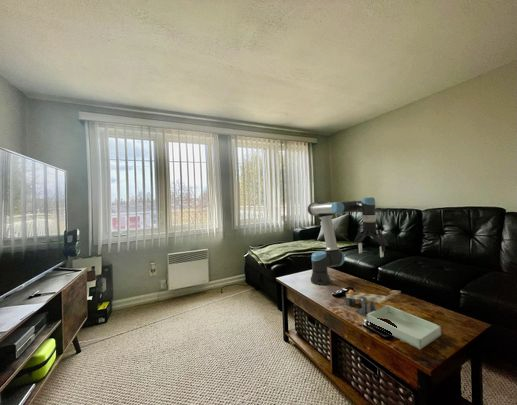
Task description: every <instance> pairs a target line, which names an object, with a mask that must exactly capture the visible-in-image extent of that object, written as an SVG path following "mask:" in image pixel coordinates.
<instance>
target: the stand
mask: <svg viewBox="0 0 517 405" xmlns="http://www.w3.org/2000/svg"><path fill="white" fill-rule="evenodd" d="M372 294H373V295H375V294H374V293H372ZM367 304H368V303H367V301H366V298H365V297H361V308H359V309H358V308H357V309H356V310H355V313H356V314H359V315H361V316H362V317H365V318H366V314H368V313H370V312H373V311H375V310H377V309H376V302H371V301H369V305H367ZM345 305H346V306H349V307H351V306H354V305H356V299H351V298H347V297H345Z"/></svg>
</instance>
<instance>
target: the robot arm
mask: <svg viewBox="0 0 517 405" xmlns="http://www.w3.org/2000/svg"><path fill="white" fill-rule="evenodd" d="M307 212H308V214H309V215H311V216H313V217H317V216H318V219H319V220H321V225H322V226H321V227H322V231H323V236H324V242H325V243H324V244H325V247H326V248H325V249H324V250H319V251H318V250H317V251H314V252H313V253H312V254H311V268H312V270H311V271H312V272H311V276H310V283H312V282H313V283H315V284H314V285H317V284H320V285H319V286H326V284H327V285H329V283H330V284H331V277H330V275H329V272H328V268H333V267H340V266H342V265H343V264H344V263H345V254H344V252H343V251H342V250H340V248H339V246H338V244H337V239H336V233H335V229H334V224H333V219H332V218H333V217H334V214H344V213H345V214H348V213H362V214H361V216H362V221H363V222H362V228H361V227H360V228H358V232H357V234H356V236H355V239H354V242H355V243H357V244H356V245H357V248H358V254H362V253H363V242H362V241H363V240H365V238H366V237H370V238H371V237H373V239H374V240H376V242H377V243H378V245H380V246H379V257H380V258H383V257H385V256H384V255H385V254H384V253H385V251H386V247H387V246H389V243H388V241H387V240H386V238H385V235H384V234H383V231H382V230H383V229H377V222H376V221H377V215H376V200H375V198H374V197H362V198H361V200H351V201H333V202H332V201H318V202H317V201H315V202H311V203H310V204H309V205H307ZM362 232H363V234H362ZM313 283H312V284H313Z"/></svg>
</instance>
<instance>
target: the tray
mask: <svg viewBox="0 0 517 405" xmlns="http://www.w3.org/2000/svg"><path fill="white" fill-rule="evenodd" d="M377 318H385V319H388V320H390V321H391V322H392V323H394V324H395V325H396V326H397V328H396V327H394V326H392V325H390V324H388V323H386V322H384V321H382V320H380V319H377ZM365 319H366V322H367V321H369V322H371V323H373V324H375V325H377V326H380V327H382V328H384V329H386V330H388V331H390V332H391V333H392V335H391V336H393V337H394V338H397V339H399V340H401V341H402V342H405V343H406V344H408V345H411V346H412V347H414V348H416V349H418V350H422V349H424V348H425V347H427V346H428V345H429V344H430V343H432V342H434V341H435V340H436V339H438V338H439V337H441V336H442V327H441V325H439V324H436V323H434V322H431V321H429V320H426V319H423V318H421V317H419V316H416V315H413V314H412V313H409V312H406V311H404V310H401V309H398V308H396V307H394V306H391V305H388V304H386V305H384V306H382V307H380V308H377V309H376V310H375V311H373V312H370V313H368V314H366V317H365Z"/></svg>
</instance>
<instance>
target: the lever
mask: <svg viewBox="0 0 517 405" xmlns="http://www.w3.org/2000/svg"><path fill="white" fill-rule="evenodd" d="M348 292H349V291H347V292H345V296H346V297H347V298H351V299H355V300H359V301H360V300H361V297H365V298H366V302H370V301H371V302H375V303H379V304H380V303H384V302H386V301H387V300H389V299H391V298H394V297H396V296H398V295H400V294H401V292H402V291H401V290H396V289H395V290H394V289H393V290H390V291H389V294H388V295H381V294H374V293H361V292H354V295H352V294H349V293H348ZM373 294H374V295H373ZM346 297H345V298H346Z"/></svg>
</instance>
